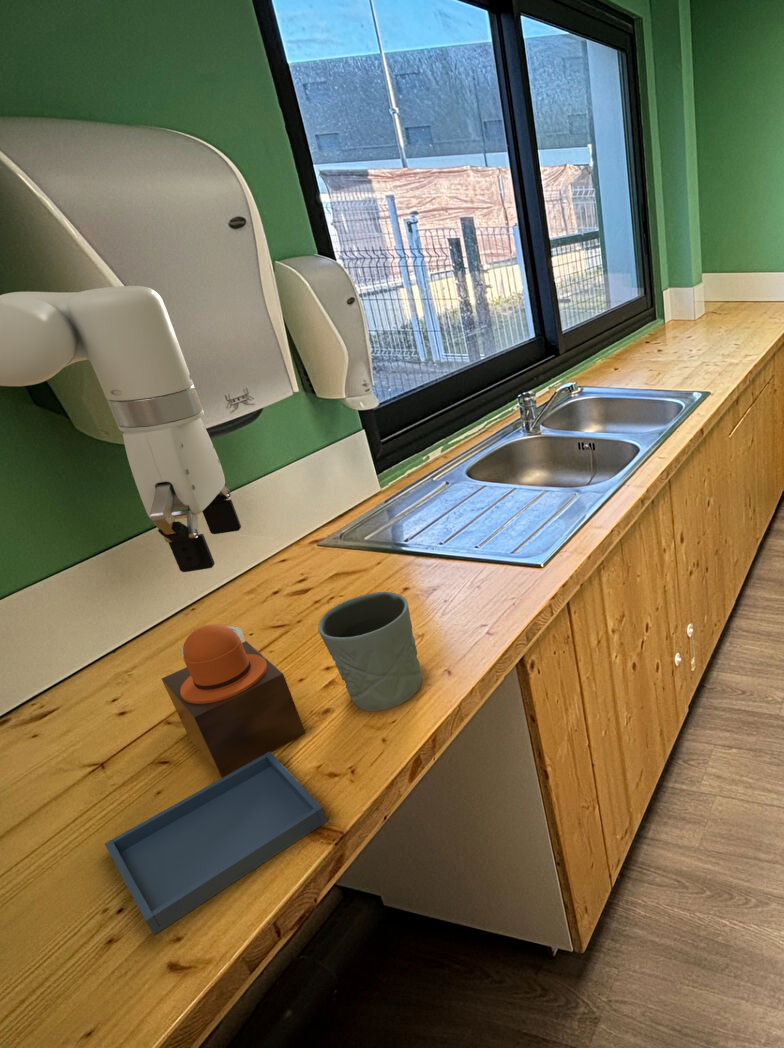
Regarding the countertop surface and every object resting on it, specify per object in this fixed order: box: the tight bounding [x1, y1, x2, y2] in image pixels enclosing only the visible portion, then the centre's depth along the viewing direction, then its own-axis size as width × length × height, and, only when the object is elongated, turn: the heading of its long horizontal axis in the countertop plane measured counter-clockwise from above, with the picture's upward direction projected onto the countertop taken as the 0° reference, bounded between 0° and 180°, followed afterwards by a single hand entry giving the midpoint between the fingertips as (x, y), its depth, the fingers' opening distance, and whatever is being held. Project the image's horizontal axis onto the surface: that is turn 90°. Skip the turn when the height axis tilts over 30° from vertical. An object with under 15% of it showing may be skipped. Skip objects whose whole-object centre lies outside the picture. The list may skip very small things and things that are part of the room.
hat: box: [180, 623, 267, 704], centre depth 79 cm, size 8×8×7 cm
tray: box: [104, 751, 329, 936], centre depth 71 cm, size 15×13×2 cm
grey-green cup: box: [317, 591, 423, 712], centre depth 89 cm, size 10×10×12 cm
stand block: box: [161, 640, 306, 779], centre depth 83 cm, size 9×11×9 cm
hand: (213, 549), depth 82 cm, fingers open, 9 cm apart
